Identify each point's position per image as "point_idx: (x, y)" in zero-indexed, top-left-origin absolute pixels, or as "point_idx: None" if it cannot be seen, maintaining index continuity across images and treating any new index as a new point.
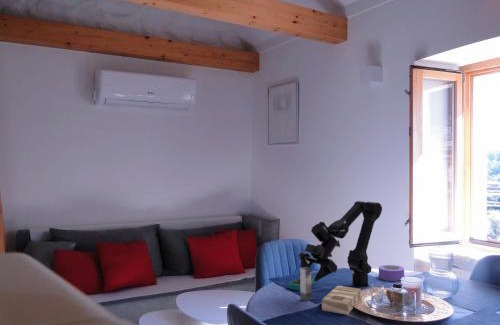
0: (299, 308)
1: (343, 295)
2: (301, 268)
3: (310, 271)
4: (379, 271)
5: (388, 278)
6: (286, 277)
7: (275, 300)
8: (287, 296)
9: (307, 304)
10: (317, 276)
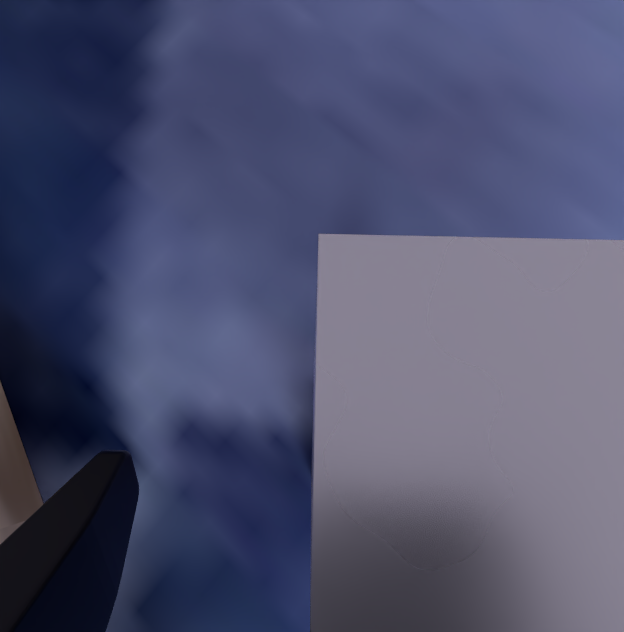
0: (187, 164)
1: None
2: (585, 242)
3: (311, 553)
4: None
5: None
6: None
7: (547, 128)
8: None
9: (219, 315)
10: (3, 550)
